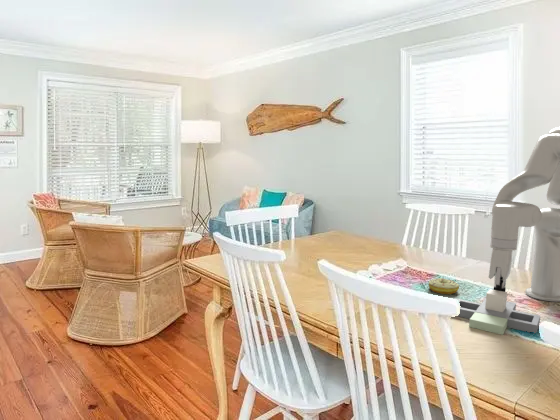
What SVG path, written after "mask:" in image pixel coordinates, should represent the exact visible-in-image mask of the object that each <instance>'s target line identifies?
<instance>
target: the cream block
mask: <svg viewBox="0 0 560 420" xmlns="http://www.w3.org/2000/svg"><path fill="white" fill-rule="evenodd" d="M485 298H486V305H485V309H490V310H494V311H499V312H503V311H504V310H505V308H506V302H507V299H508V292H506V291H505V292H503V291H497V290H494V289H491V288H490V289H489V290H488V291H486V294H485Z"/></svg>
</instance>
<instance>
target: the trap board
mask: <svg viewBox="0 0 560 420" xmlns="http://www.w3.org/2000/svg"><path fill="white" fill-rule="evenodd" d="M456 299H457V300H459V303H460V306H461V307H460V314H459V316H458V317H461V318H464V319H469V323H468V326H469V328H473V329H477V330H481V331H486V332H488V333H489V332H490V333H493V334H498V335H502V336H503V335H504V334H505V332H506V329H507V328H509V329H514V330H518V331H522V332H526V331H527V333H530V332H534V333H533V334H535V333H536V332H537V333H538V329H539V327H538V325H539V326H540V324H541V315H538V314H533V313H529V312H525V311H519V310H517V302H512V301H507V302H506V308H505V310H504V311H503V312H499V311H494V310H490V309H485V305H486V297H485V298H484V300H483V301H482V302H481V303H479V302H475V301H470V300H465V299H460V298H456ZM539 323H540V324H539ZM537 333H536V334H537Z"/></svg>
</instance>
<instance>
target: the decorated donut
mask: <svg viewBox="0 0 560 420" xmlns="http://www.w3.org/2000/svg"><path fill="white" fill-rule="evenodd" d="M428 288H429V290H431V291H432V292H434V293H436V294H440V295H453V294H455V293H457V292H458V291H459V289H460V285H459V284H458V282H456V281H454V280H452V279H447V278H441V277H440V278H434V279H433V278H432V279H430V280H429V281H428Z"/></svg>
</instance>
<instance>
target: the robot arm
mask: <svg viewBox="0 0 560 420" xmlns="http://www.w3.org/2000/svg"><path fill="white" fill-rule="evenodd" d="M547 184H548V188H547V190H546V191H547V193H546V200H547V202H549V203H550V204H551V205H555V206H560V126H558V127H555V128H552V129H550V131H549V132H548V134H544V135H542V136H540V137H539V138H538V139H537V141H536V144H535V146H534V147H533V150H532V152H531V154H530V156H529V159H528V161H527V163H526V165H525V167H524V170H522V172H521V173H519V174H518V175H516V176H515V177H513V178H512V179H511V180H509V181H507V182H506V184H504V185H503V186H502V187H501V189H500V190H499V192H498V193H497V195H496V198H495V201H494V202H493V205H492V209H491V215H492V218H491V230H490V240H489V242H490V246H489V247H490V248H492V251H491V256H490V264H489V271H488V278H489V279H490V280H491V279H493V278H494V283H493V290H497V291H503V292H506V289H507V288H506V287H507V286H506V284H507V283H506V282H507V279H508V278H509V277H510V274H511V270H512V261H513V251H516V250H517V247H518V238H519V237H518V236H519V228H521V227H522V228H531V227H533V228H534V234H535V235H534V249H533V250H534V251H533V261H532V262H533V263H532V272H531V283H530V287H528V288H526V289H525V294H526V295H527V296H529V297H531V298H533V299H536V300H540V301H546V302H557V303H558V302H559V303H560V208H554V207H545V208H539V206H537V205H535V204H533V203H527V202H520V201H513V200H514V199H515V198H516V197H517V196H518V195H520V194H522V193H524V192H527V191H528V190H533V189H536V188H538V187H542V186H545V185H547Z"/></svg>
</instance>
